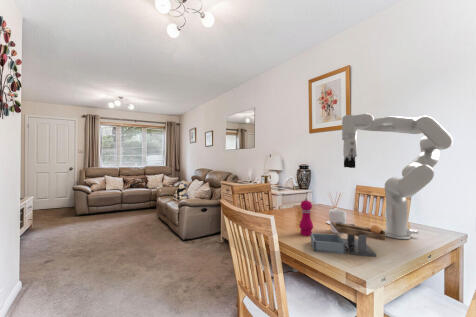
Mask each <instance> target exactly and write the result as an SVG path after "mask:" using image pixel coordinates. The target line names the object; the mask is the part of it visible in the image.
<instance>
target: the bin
mask: <svg viewBox="0 0 476 317" xmlns="http://www.w3.org/2000/svg"><path fill="white" fill-rule="evenodd" d="M342 238H343V237H341V236H340V234H335V233H333V234H332V233H330V234H329V233H318V232H317V233H316V232H312V233H311V236H310V244H311V247H312V250H313V252H314V253H315V252H316V253H328V254H339V255H346V248H345V242H344V241H343V240H342Z"/></svg>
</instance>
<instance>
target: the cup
mask: <svg viewBox="0 0 476 317" xmlns="http://www.w3.org/2000/svg"><path fill="white" fill-rule="evenodd" d="M328 217H329V225H330V231H331V232H332V233H333V234H336V235H342V234H343V235H344V233H339V232H337V230H336V229H335V228H334V226H333V225H332V222H339V223H343V224H347V223H346V221H347V211H346V210H343V209H335V208H334V209H333V208H332V209H329V213H328Z"/></svg>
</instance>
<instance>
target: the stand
mask: <svg viewBox="0 0 476 317" xmlns="http://www.w3.org/2000/svg"><path fill="white" fill-rule="evenodd" d="M348 224H349V225H355V224H354V223H348ZM341 238H342V240H343V241H344V242H345V250H347V252H348V253H349V255H352V256H361V257H362V256H363V257H364V256H365V257H375V258H376V257H377V254H376V253H375V251H373V250H372V249H371V248H370V246H368V244H367V240H368V239H367V235H364V234H358V236H357V238H356V236H355V235H350V234H347V238H346V237H345V238H343V237H341Z"/></svg>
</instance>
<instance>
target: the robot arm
mask: <svg viewBox="0 0 476 317" xmlns="http://www.w3.org/2000/svg"><path fill="white" fill-rule="evenodd" d="M358 130H359V131H369V132H387V133H399V134H407V135H419V134H423V135H424V136H423V137H422V138H421V139H420V141H419V147H420V148H419V149H420V152H419V155H418V156H416V158H414V159H412V161H411V162H410V163H408V164H407V165H406V166H405V167H404V168H403V169H402V171H401V176H402V177H398V176H396V177H395V176H394V177H389V178H388V179H387V180H386V181H385V183H384V192H385V219H386V220H385V230H383V231H385V235H386V237H388V238H392V239H398V240H410V239H411V238H412V235H418V234H419V231H418V230H415V229H411V228H408V199H407V198H411V197H413V196H415V195H416V194H418V192H419V191H421V190H422V189H424V187H426V186H427V185H428V184H430V182H431V181H432V180H433V179H434V176H435V172H434V169H433V168H434V167H435V166H436V165H437V163H438V162H439V160H440V159H439V158H440V151H441V150H446V149H448V148H451V146H452V145H453V141H454V139H453V136H452V135H451V134H450V133H449V132H448V131H447V130H446V129H445V127H443V126H442V125H441V124H440V123H439V122H438V121H437V120H435V118H433V117H432V116H429V115H422V116H419V117H407V116H405V117H404V116H395V115H391V116H386V117H385V116H384V117H378V118H377V117H376V118H374V116H373V115H372V114H370V113H361V114H346V115H343V116H342V119H341V140H342V141H343V148H342V149H343V151H342V152H343V154H342V155H343V168H349V169H350V168H351V169H355V168H356V158H357V157H358V149H357V148H358V146H357V140H358V136H357V135H358Z"/></svg>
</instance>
